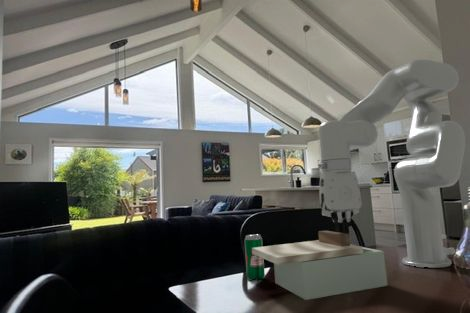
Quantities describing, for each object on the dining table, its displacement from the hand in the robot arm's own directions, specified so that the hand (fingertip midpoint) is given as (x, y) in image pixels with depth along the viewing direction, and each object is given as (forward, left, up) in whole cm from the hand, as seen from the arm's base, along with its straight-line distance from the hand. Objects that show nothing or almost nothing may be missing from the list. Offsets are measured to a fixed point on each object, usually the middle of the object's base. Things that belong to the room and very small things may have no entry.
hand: (343, 237), depth 86 cm
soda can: (+19, -15, -11) cm, 27 cm away
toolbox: (+6, 0, -11) cm, 12 cm away
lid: (+11, 0, -3) cm, 12 cm away
